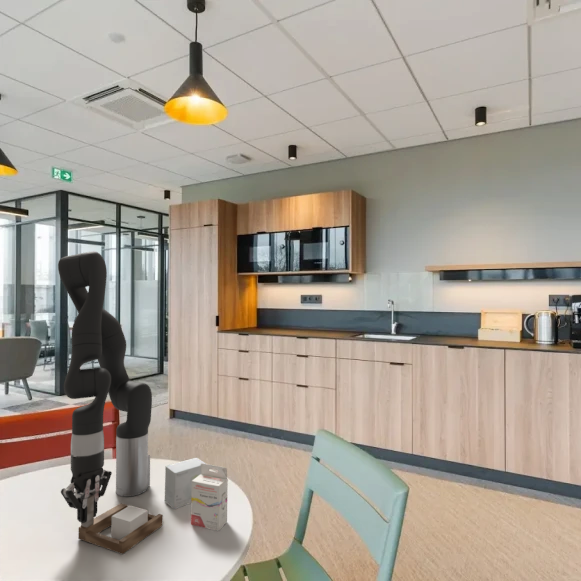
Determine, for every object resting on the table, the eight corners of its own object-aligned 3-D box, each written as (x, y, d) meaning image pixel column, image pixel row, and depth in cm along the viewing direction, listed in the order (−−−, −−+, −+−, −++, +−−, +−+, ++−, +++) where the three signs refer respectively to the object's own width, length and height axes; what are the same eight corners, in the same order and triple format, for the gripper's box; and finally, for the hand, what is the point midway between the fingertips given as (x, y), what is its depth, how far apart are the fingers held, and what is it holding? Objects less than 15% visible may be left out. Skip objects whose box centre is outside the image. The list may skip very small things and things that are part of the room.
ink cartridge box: (189, 525, 111) (190, 469, 111) (199, 516, 116) (200, 462, 116) (219, 531, 108) (219, 473, 108) (228, 522, 113) (228, 466, 113)
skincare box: (174, 510, 119) (174, 472, 119) (164, 501, 124) (164, 465, 124) (206, 498, 126) (207, 462, 126) (195, 490, 131) (196, 456, 131)
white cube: (111, 540, 104) (111, 516, 104) (129, 528, 109) (129, 505, 110) (129, 546, 102) (129, 521, 102) (147, 534, 107) (147, 510, 107)
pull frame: (120, 513, 116) (121, 477, 116) (162, 525, 110) (162, 487, 110) (78, 538, 104) (78, 498, 104) (122, 554, 98) (123, 511, 98)
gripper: (99, 438, 113) (99, 504, 113) (51, 456, 101) (51, 529, 100) (120, 442, 110) (120, 509, 110) (73, 461, 98) (73, 537, 97)
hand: (87, 519), depth 105 cm, fingers closed on pull frame, 2 cm apart
